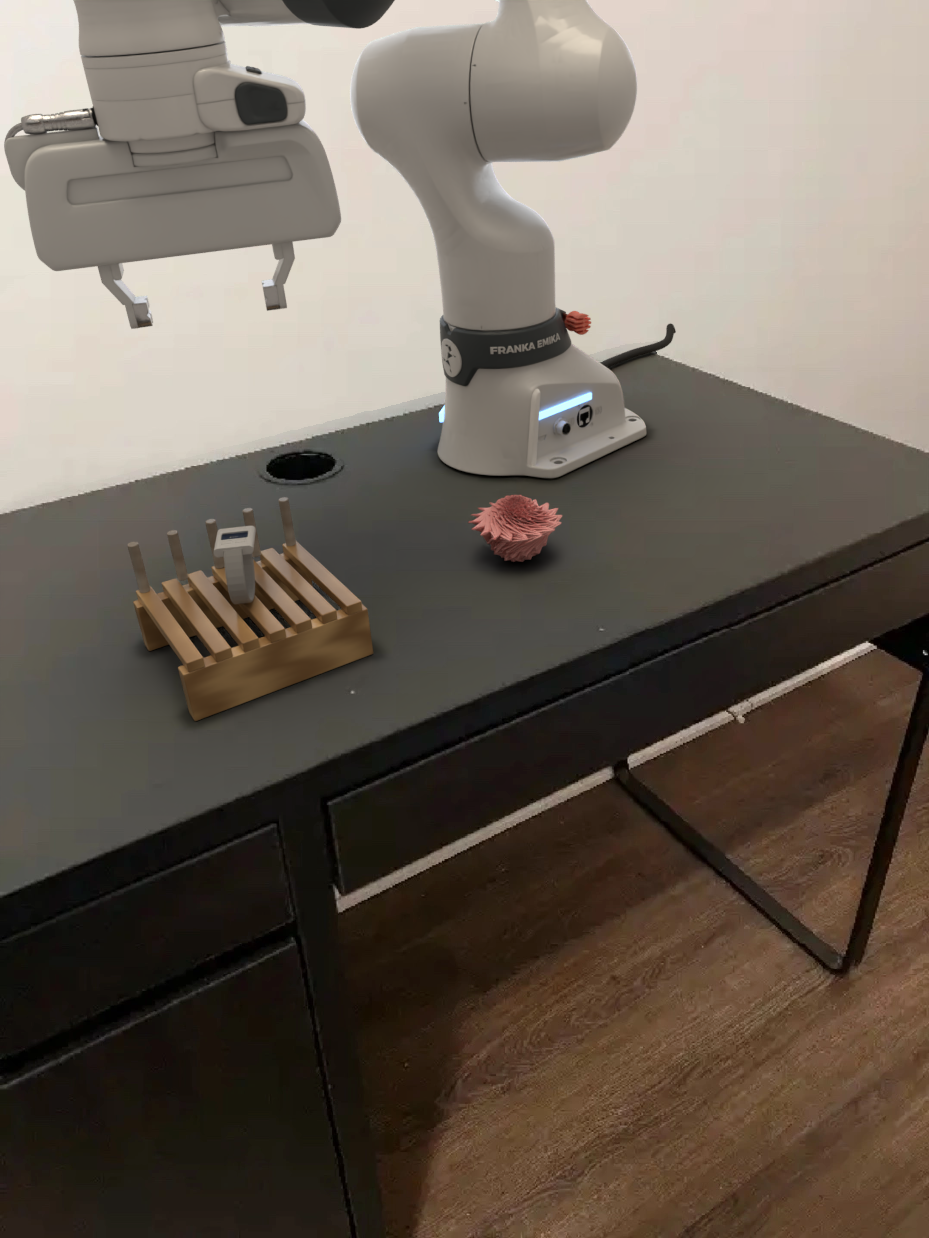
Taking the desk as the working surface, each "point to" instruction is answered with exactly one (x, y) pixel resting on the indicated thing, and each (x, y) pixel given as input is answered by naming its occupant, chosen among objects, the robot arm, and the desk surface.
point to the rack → (255, 659)
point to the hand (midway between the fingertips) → (210, 316)
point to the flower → (516, 526)
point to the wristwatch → (238, 561)
